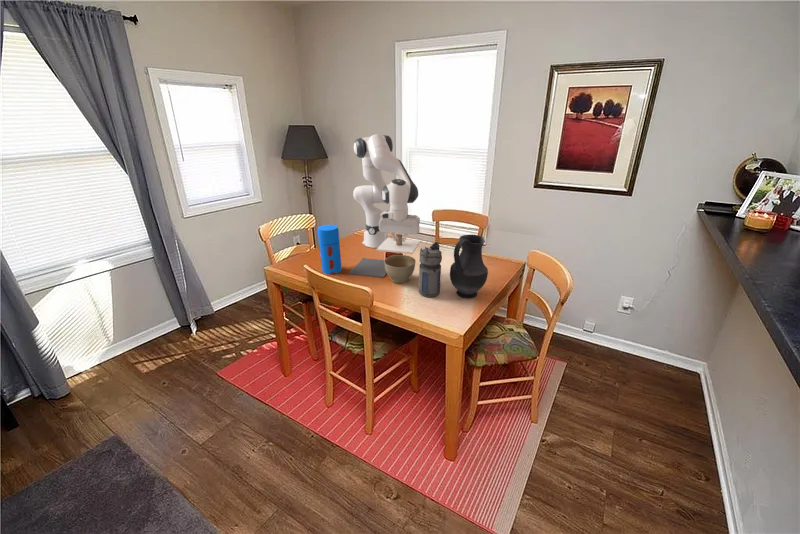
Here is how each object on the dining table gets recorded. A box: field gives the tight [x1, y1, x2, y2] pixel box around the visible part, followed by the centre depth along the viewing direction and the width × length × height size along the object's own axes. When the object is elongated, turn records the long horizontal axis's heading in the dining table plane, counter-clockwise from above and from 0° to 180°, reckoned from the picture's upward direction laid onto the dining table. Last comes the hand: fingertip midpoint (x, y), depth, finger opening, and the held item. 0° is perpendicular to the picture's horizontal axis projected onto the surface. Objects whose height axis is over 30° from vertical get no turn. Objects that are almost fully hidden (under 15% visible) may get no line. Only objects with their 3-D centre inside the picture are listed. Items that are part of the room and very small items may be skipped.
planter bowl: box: [383, 254, 416, 284], centre depth 179 cm, size 16×16×11 cm
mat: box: [348, 257, 388, 279], centre depth 196 cm, size 22×20×1 cm
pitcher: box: [449, 234, 489, 300], centre depth 159 cm, size 17×21×30 cm
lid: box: [376, 233, 421, 255], centre depth 172 cm, size 18×18×6 cm
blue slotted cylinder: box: [317, 224, 342, 275], centre depth 188 cm, size 11×11×25 cm
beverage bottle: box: [418, 241, 443, 298], centre depth 163 cm, size 10×13×25 cm
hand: (399, 241), depth 173 cm, fingers closed on lid, 3 cm apart
